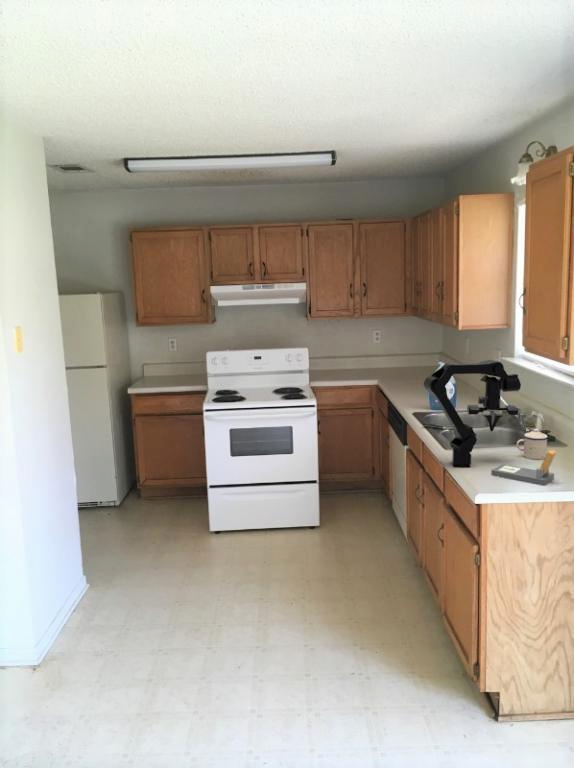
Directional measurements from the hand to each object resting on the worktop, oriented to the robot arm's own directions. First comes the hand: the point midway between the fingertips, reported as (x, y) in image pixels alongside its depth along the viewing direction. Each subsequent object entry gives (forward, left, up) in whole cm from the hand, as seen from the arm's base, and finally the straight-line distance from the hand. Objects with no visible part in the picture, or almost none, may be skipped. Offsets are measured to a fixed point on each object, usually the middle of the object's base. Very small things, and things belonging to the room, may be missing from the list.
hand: (491, 431), depth 249 cm
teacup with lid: (+18, +10, -13) cm, 25 cm away
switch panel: (+8, -18, -13) cm, 23 cm away
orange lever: (+14, -22, -10) cm, 28 cm away
